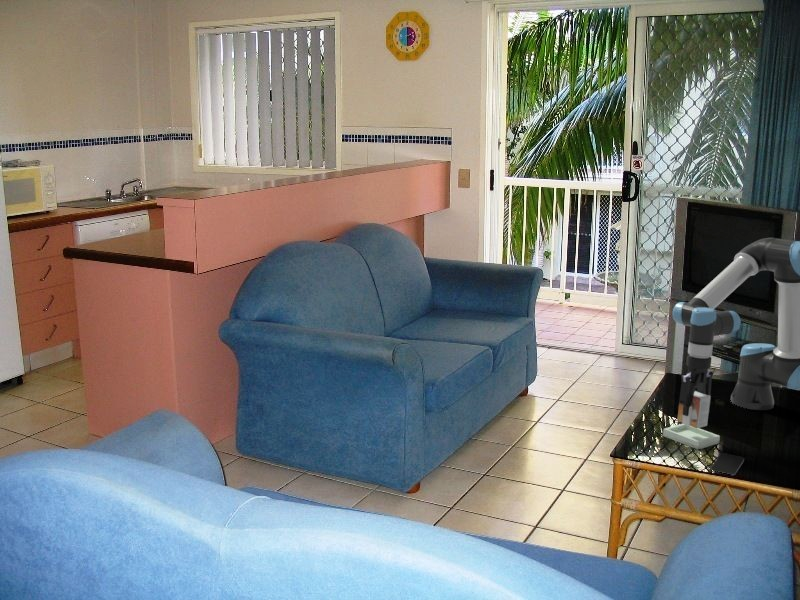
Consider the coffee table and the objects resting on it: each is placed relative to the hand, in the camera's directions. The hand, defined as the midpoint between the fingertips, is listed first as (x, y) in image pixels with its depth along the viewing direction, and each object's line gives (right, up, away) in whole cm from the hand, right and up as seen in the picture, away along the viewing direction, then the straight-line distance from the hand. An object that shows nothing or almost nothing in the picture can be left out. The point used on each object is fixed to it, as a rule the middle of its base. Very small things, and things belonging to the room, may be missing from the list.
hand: (692, 422), depth 287 cm
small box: (0, -1, 0) cm, 1 cm away
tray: (0, -6, +1) cm, 6 cm away
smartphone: (+4, -11, -19) cm, 23 cm away
